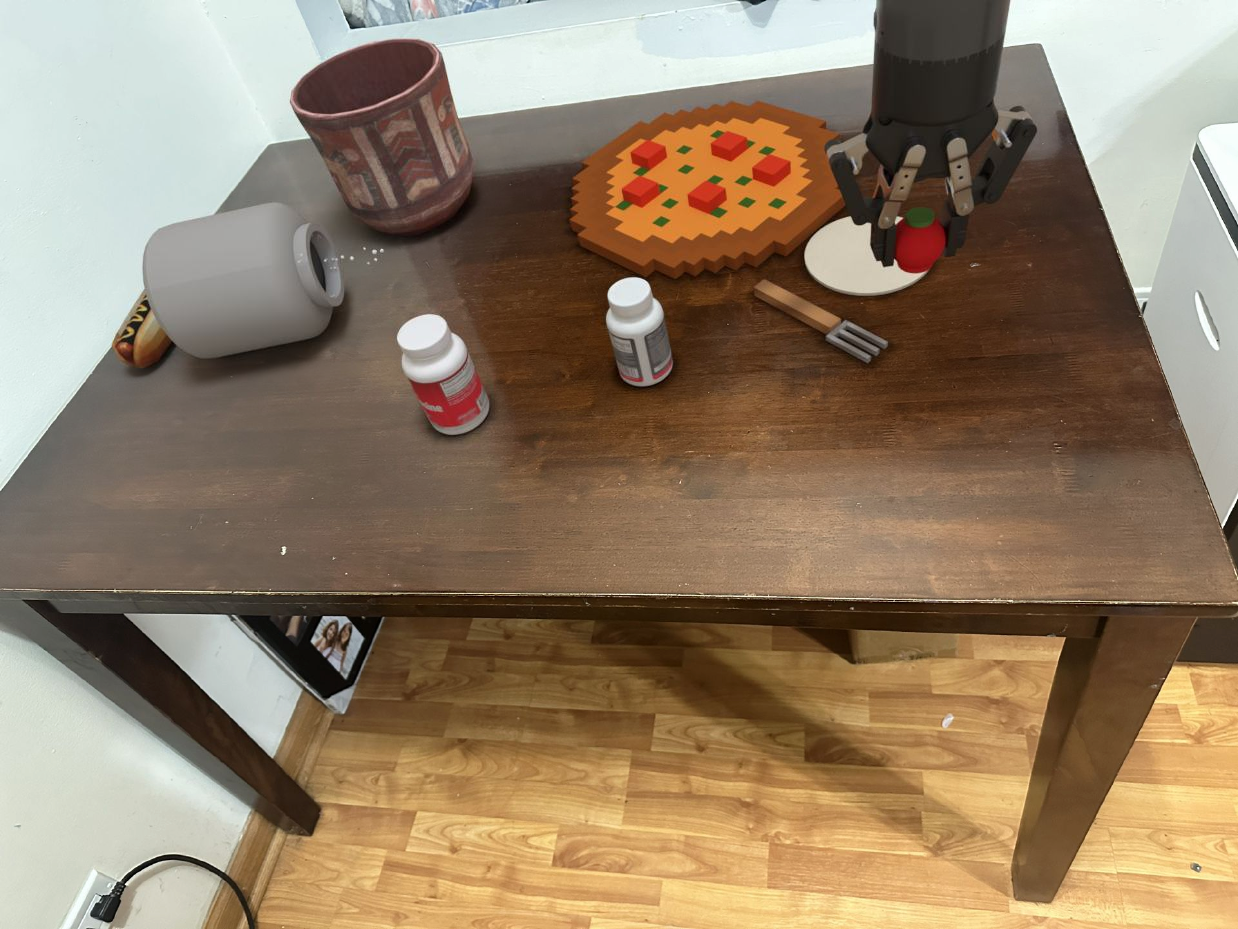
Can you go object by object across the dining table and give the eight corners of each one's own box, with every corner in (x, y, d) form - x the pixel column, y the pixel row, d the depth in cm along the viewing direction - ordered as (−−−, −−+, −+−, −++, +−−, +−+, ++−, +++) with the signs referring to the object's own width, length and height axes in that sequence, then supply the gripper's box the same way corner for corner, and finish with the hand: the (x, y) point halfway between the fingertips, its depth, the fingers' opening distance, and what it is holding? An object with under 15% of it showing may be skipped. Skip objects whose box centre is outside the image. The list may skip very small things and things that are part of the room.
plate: (859, 202, 95) (859, 199, 95) (962, 245, 88) (962, 241, 88) (778, 263, 91) (778, 260, 91) (878, 313, 84) (878, 310, 83)
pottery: (420, 267, 103) (359, 128, 89) (328, 233, 112) (259, 101, 98) (514, 185, 111) (471, 45, 97) (421, 159, 119) (369, 28, 106)
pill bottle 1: (421, 413, 87) (377, 332, 78) (472, 382, 88) (435, 298, 80) (449, 447, 83) (406, 365, 75) (502, 413, 85) (466, 329, 76)
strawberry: (909, 240, 67) (913, 192, 64) (954, 258, 65) (961, 210, 62) (876, 267, 66) (879, 219, 63) (921, 286, 64) (926, 238, 61)
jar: (228, 238, 106) (405, 189, 99) (257, 357, 108) (433, 318, 101) (99, 225, 88) (303, 165, 81) (137, 368, 90) (340, 322, 83)
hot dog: (206, 299, 107) (184, 266, 104) (165, 375, 99) (138, 343, 95) (171, 303, 108) (147, 271, 104) (126, 379, 100) (99, 347, 96)
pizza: (719, 313, 88) (716, 290, 86) (522, 217, 106) (515, 195, 103) (902, 155, 99) (904, 131, 97) (696, 92, 117) (693, 71, 115)
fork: (749, 299, 89) (748, 290, 88) (769, 284, 89) (768, 275, 89) (867, 363, 80) (868, 354, 79) (887, 346, 81) (888, 336, 80)
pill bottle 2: (665, 343, 87) (650, 265, 79) (679, 378, 83) (665, 300, 76) (614, 358, 87) (594, 282, 79) (625, 394, 83) (606, 318, 76)
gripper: (832, 76, 50) (830, 302, 64) (1086, 28, 49) (1030, 270, 62) (809, 20, 55) (812, 241, 68) (1040, -25, 54) (997, 210, 67)
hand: (916, 254), depth 65 cm, fingers closed on strawberry, 4 cm apart
